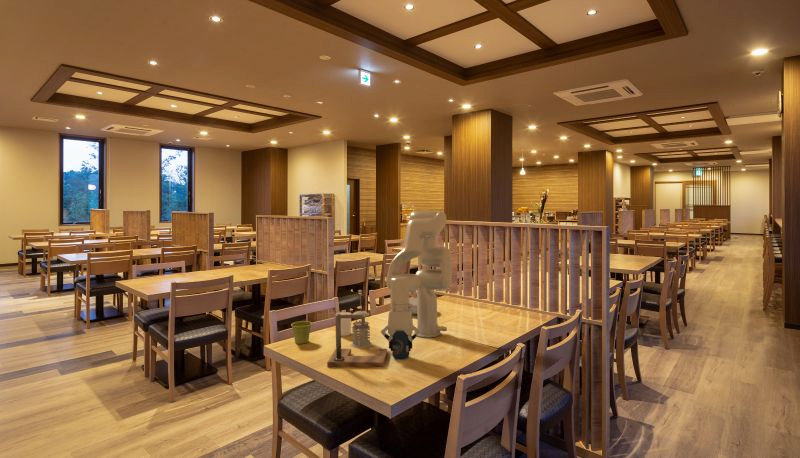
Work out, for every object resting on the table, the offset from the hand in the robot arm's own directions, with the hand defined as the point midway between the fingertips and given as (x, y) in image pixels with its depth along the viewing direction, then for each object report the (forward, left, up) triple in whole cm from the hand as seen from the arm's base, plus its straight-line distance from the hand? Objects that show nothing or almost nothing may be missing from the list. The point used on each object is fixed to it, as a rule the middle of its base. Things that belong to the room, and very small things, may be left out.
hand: (400, 349), depth 178 cm
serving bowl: (-3, -76, -4) cm, 76 cm away
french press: (+19, -16, -4) cm, 25 cm away
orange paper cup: (+30, -33, -4) cm, 45 cm away
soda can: (0, 0, -3) cm, 3 cm away
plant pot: (+47, -20, -4) cm, 51 cm away
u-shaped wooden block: (+17, +3, -3) cm, 18 cm away
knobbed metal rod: (+20, +8, -1) cm, 21 cm away
